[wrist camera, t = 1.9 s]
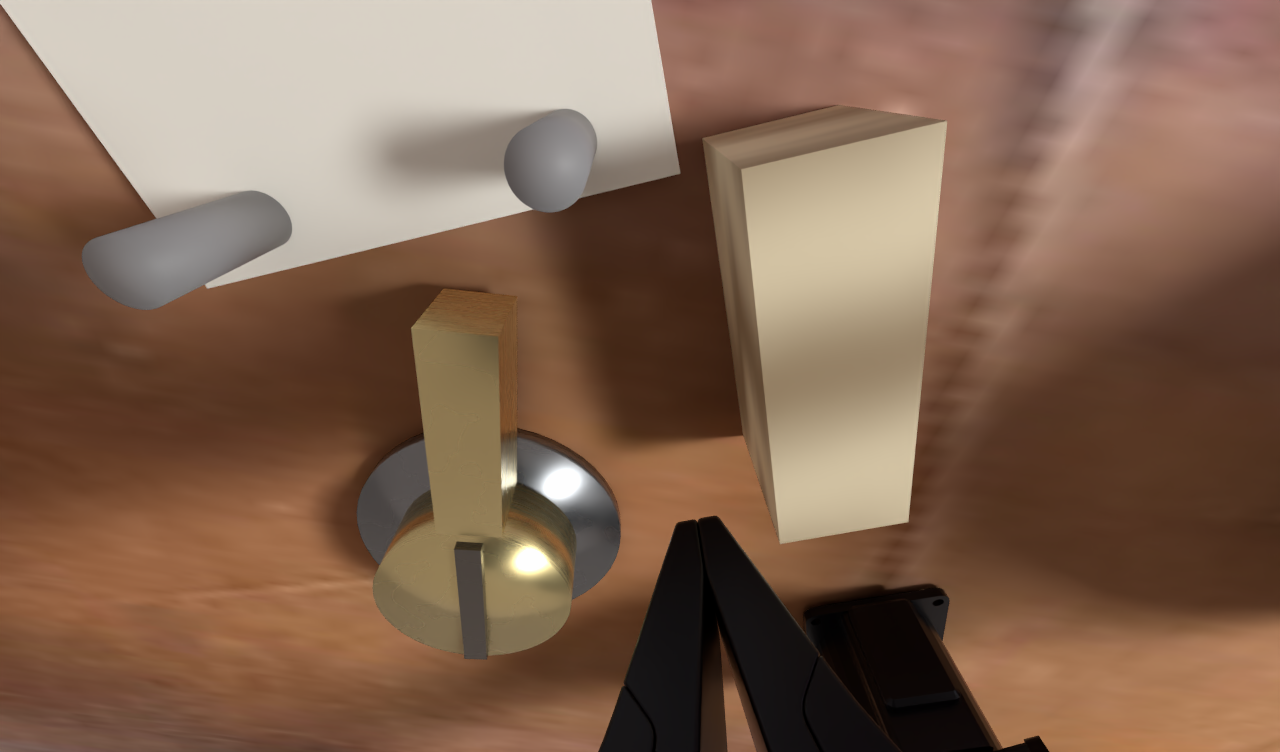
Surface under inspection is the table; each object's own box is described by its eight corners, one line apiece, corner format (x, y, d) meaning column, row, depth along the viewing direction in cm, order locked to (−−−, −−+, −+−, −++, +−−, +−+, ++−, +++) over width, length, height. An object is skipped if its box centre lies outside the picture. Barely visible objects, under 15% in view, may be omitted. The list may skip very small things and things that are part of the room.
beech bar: (839, 414, 18) (908, 521, 14) (742, 432, 18) (780, 544, 14) (837, 104, 13) (946, 120, 8) (701, 137, 13) (741, 169, 9)
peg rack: (581, -385, 8) (540, -850, 4) (676, 167, 13) (703, 212, 9) (-67, -159, 10) (-616, -343, 5) (232, 275, 14) (65, 362, 10)
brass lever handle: (571, 599, 21) (565, 666, 19) (411, 591, 20) (383, 660, 18) (599, 304, 14) (594, 352, 12) (356, 279, 13) (299, 323, 11)
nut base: (644, 580, 22) (644, 592, 21) (432, 616, 23) (428, 629, 22) (581, 398, 17) (579, 409, 16) (310, 454, 18) (301, 466, 17)
